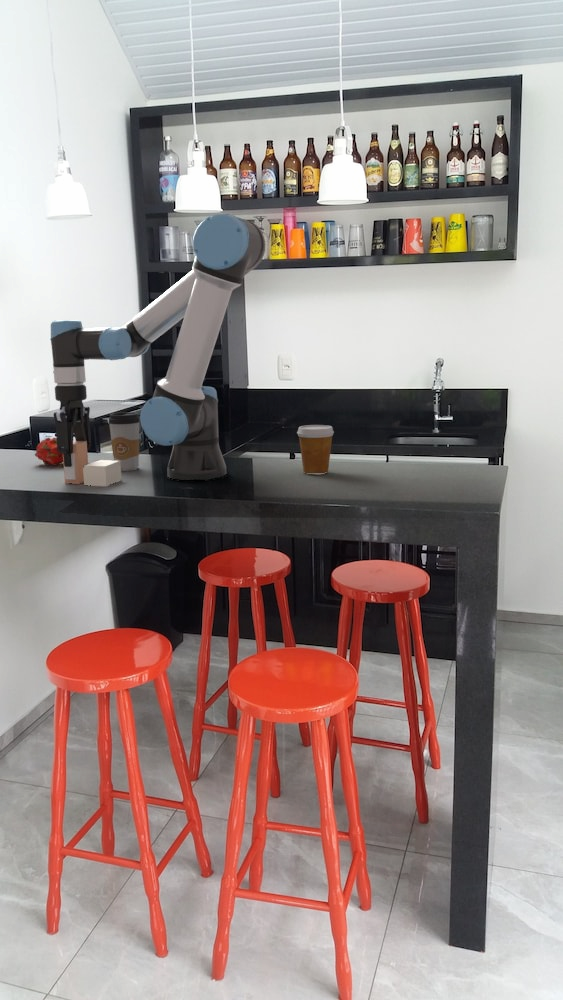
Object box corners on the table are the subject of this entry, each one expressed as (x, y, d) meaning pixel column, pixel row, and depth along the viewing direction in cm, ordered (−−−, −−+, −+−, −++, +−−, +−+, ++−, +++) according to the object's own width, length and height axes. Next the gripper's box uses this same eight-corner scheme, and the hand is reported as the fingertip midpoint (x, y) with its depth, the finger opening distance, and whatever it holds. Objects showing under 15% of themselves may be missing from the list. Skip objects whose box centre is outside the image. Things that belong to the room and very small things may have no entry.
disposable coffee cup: (298, 469, 220) (298, 424, 218) (334, 469, 219) (334, 424, 217) (296, 476, 211) (295, 429, 209) (333, 476, 210) (333, 429, 208)
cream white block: (121, 480, 210) (120, 460, 209) (106, 486, 203) (104, 466, 202) (100, 479, 212) (98, 459, 211) (84, 485, 204) (82, 465, 203)
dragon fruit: (37, 468, 238) (73, 477, 234) (23, 455, 230) (59, 463, 226) (49, 442, 240) (85, 450, 237) (35, 428, 233) (71, 436, 229)
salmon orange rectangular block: (89, 480, 211) (86, 441, 209) (79, 483, 207) (76, 444, 204) (75, 479, 212) (72, 440, 210) (65, 483, 208) (62, 443, 206)
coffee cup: (106, 471, 223) (103, 415, 220) (118, 465, 231) (114, 412, 228) (136, 472, 221) (133, 415, 218) (146, 466, 229) (143, 412, 226)
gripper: (75, 381, 214) (81, 470, 219) (36, 387, 197) (44, 483, 202) (101, 381, 212) (107, 471, 217) (64, 387, 195) (71, 484, 200)
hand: (76, 476), depth 209 cm, fingers closed on salmon orange rectangular block, 5 cm apart
